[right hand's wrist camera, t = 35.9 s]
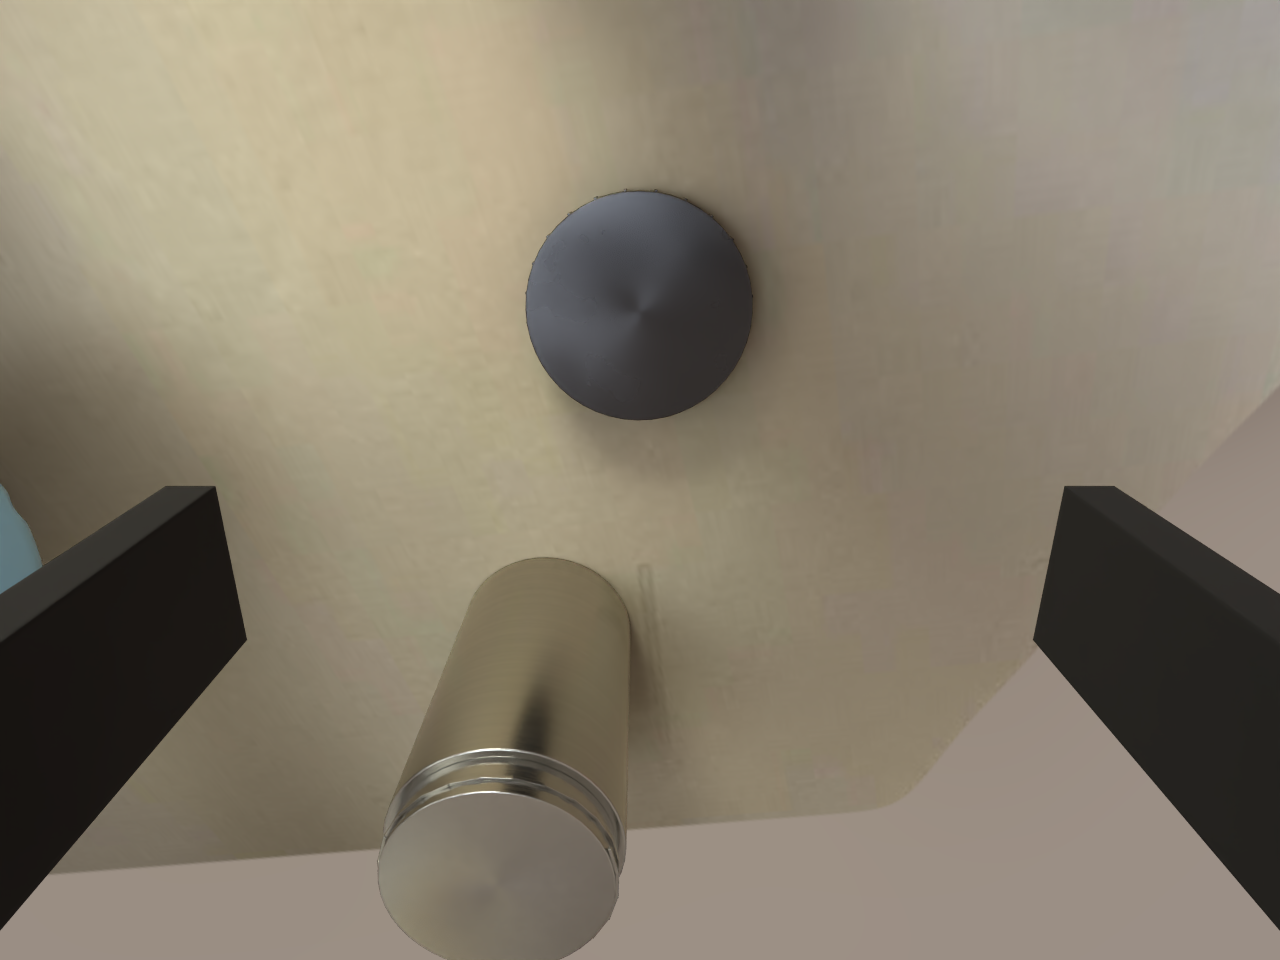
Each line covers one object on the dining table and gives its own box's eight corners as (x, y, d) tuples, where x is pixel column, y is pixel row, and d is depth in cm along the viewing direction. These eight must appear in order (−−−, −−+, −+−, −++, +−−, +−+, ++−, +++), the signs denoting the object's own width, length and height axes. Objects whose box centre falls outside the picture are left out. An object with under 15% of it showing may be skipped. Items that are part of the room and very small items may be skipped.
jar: (493, 713, 47) (416, 994, 31) (443, 576, 44) (329, 811, 28) (647, 682, 47) (650, 954, 30) (608, 541, 43) (589, 761, 27)
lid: (674, 446, 41) (676, 459, 40) (492, 342, 39) (485, 350, 38) (790, 266, 38) (798, 270, 36) (598, 142, 36) (596, 140, 34)
